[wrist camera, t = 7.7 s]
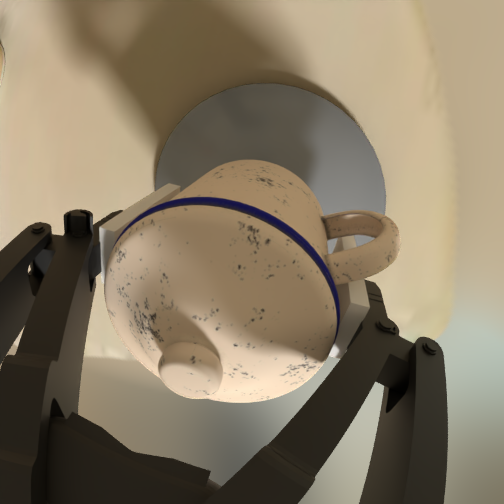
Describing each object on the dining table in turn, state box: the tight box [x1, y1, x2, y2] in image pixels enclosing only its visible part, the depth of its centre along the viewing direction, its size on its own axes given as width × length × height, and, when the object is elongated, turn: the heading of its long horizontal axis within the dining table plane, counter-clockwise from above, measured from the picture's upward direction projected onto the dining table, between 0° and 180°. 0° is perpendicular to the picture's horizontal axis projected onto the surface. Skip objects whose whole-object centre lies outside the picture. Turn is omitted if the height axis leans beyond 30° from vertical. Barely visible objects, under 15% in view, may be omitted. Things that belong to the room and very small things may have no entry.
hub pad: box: [155, 83, 386, 254], centre depth 21 cm, size 16×16×1 cm
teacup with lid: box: [104, 160, 401, 403], centre depth 13 cm, size 12×9×12 cm
